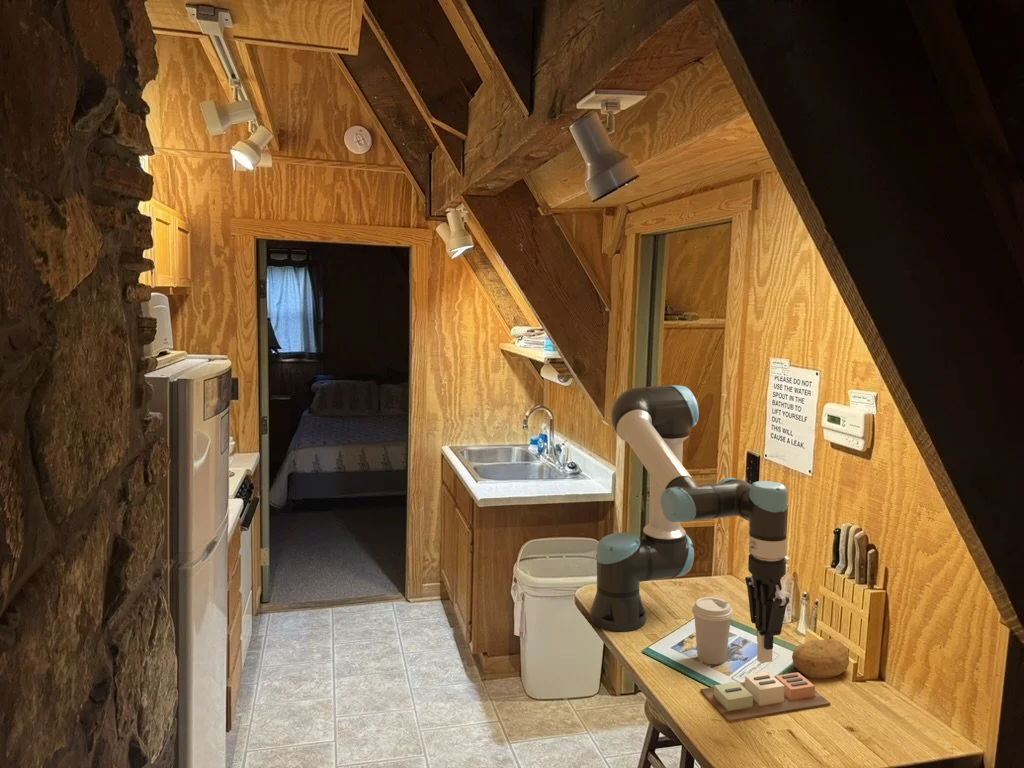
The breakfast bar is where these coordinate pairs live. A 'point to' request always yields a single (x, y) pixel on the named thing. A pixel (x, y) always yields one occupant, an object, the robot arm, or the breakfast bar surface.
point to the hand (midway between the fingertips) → (764, 660)
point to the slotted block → (733, 696)
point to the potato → (821, 658)
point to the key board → (765, 706)
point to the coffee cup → (712, 629)
